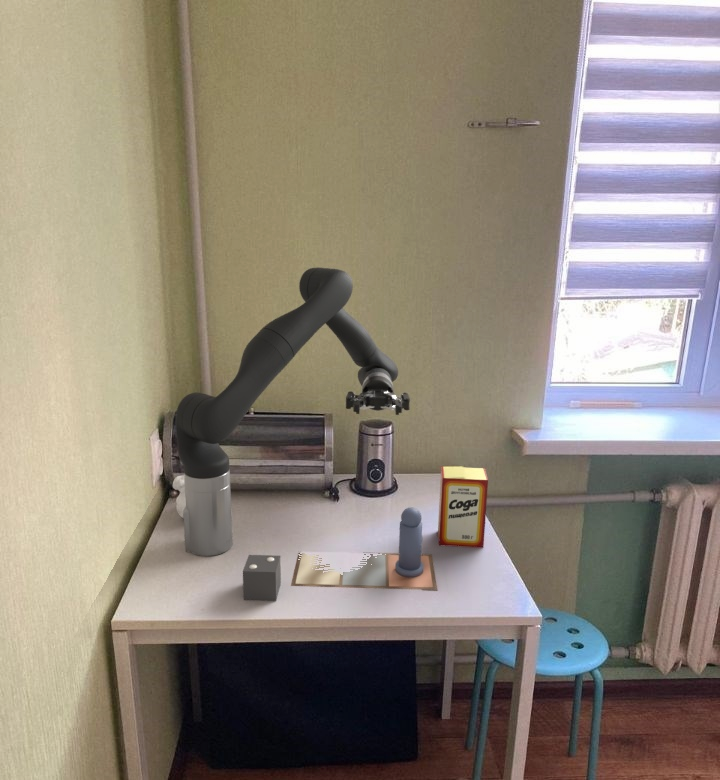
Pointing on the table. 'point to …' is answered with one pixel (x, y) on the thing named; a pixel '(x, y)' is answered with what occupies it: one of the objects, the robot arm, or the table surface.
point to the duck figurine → (181, 500)
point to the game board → (364, 574)
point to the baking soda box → (462, 506)
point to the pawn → (410, 544)
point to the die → (261, 577)
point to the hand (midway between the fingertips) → (377, 410)
